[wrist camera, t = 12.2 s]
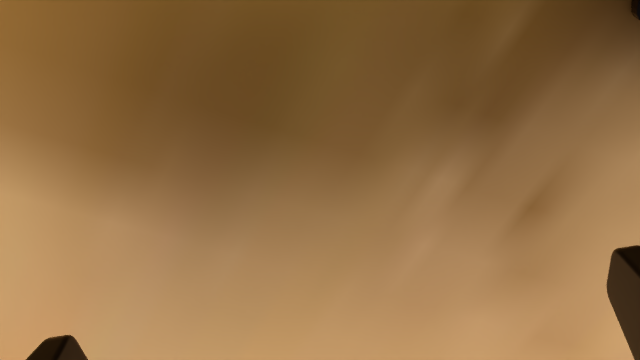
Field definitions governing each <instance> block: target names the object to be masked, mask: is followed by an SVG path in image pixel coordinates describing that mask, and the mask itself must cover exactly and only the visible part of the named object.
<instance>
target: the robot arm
mask: <svg viewBox="0 0 640 360" xmlns="http://www.w3.org/2000/svg"><path fill="white" fill-rule="evenodd" d="M632 13H633V15H634V16H635V17H636V18H638V19H639V20H640V0H633V1H632ZM607 293H608V297H609V300H610V302H611V305H612V307H613V309H614V312H615V314H616V316H617V319H618V321H619V324H620V326H621V328H622V331H623V333H624V336H625V338H626V340H627V343H628V345H629V347H630V350H631V352H632V355H633V357H634V359H635V360H640V246H638V245H636V246H629V247H623V248H617V249H615V250H614V251H613V253H612V256H611V261H610V267H609V273H608V279H607ZM26 360H88V359H87V357H86V356H85V354H84V352H83V351H82V349H81V347H80V346H79V344H78V342H77V341H76V339H75V338H74V337H73V336H71V335H64V336H57V337H51V338H48V339H46V340H44V341H43V342H42V343H41V344H40V345H39V346H38V347H37V348H36V349H35V350H34V351H33V353H32V354H31V355H30V356H29V357H28V358H27V359H26Z"/></svg>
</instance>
